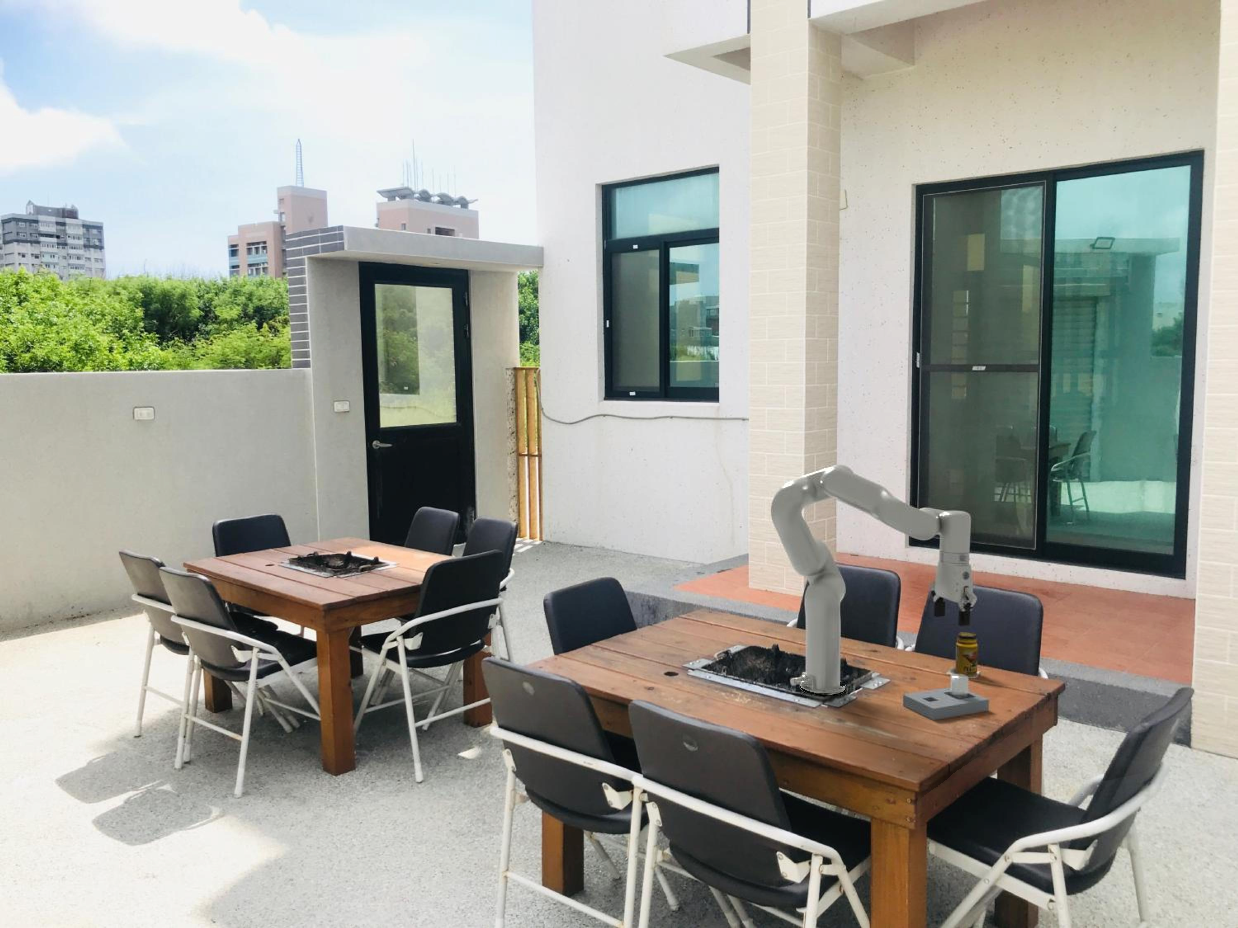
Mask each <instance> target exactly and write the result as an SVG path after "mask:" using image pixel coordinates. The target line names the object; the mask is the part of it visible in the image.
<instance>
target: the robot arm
mask: <svg viewBox="0 0 1238 928" xmlns="http://www.w3.org/2000/svg"><path fill="white" fill-rule="evenodd" d="M831 498H832V499H833V500H836V501H838V502H840V503H844V504H845V505H848V506H849V507H852V508H853V509H856V510H858V511H861V512H863V513H865V514H867V515H869V516H870V517H872V518H874V519H876V520H877V521H880V522H881V523H883V524H885V525H886V526H889V527H890V528H892V529H894V530H896V531H898V532H900V533H902V534H904V535H906V536H909V537H911V538H913V539H916V540H920V541H928V540H931V539H933V538H934V537H935V536H936V535H939V553H938V554H939V556H938V557H939V558H938V562H937V567H936V573H935V580H934V581H933V582H930V583H929V586H930V587H929V589H930V591H931V592H930V594H931V596H932V601H933V603H934V604H933V606H934V607H933V616H934V617H935V618H938V617H945V616H946V601H945V600H948V601H951V602H954V603H957V605H958V606H959V609H960V610H958V622H957V623H958V624H957V625H958V626H959V627H966V626H970V624H971V622H970V621H971V611H973V608H974V607H975V606H976V602H977V601H978V597H977V595H976V594H975V593H974V592H973V591H974V584H973V583H974V582H973V578H974V577H973V572H972V565H971V564H970V560H971V559H970V548H971V530H972V529H971V526H972V524H971V523H972V517H971V514H970V513H968V512H966V511H964V510H963V511H962V510H942V509H938V508H937V509H936V508H934V507H933V508H932V507H922V508H916V507H914V506H912V505H909V504H908V503H906V502H904V501H902V500H900V499H899V498H897V497H895V496H894V494H892V493H891V492H890V491H889V490H888V489H887V488H886V487H884V486H883V485H881V484H878V483H876V482H874V481H871V480H870V479H867V478H864V477H862V476H860V475H859V474H856V473H854V471H853V470H852V469H851V468H850V467H849V466H846V465H845V464H835V465H832V466H830V467H827V468H826V467H825V468H823V469H820V470H818V471H814V472H811V473H808V474H805V475H802V476H799V477H795V478H793V479H792V480H789V481H787V482H785V483H784V484H783V485H782V486H781V487H780V488H779V490H777V492H776V494H775V495H774V496H773V499H772V502H771V504H770V505H771V506H770V515H771V516H770V517H771V520H772V523H773V526H774V528H775V530H776V532H777V534H778V536H779V538H780V541H781V544H782V545H783V548H784V551H785V552H786V554H787V557H788V558H789V561H790V564H791V566H792V567H793V570H794V571H795V572H796V573H797V574H798V575H800V576H802V577H805V578H806V579H807V581H808V584H809V585H808V586H807V588H806V590H805V594H804V612H805V671H803V672H801V675H800V676H799V677H791V678H790V681H789V682H790V685H791V686H795V685H799V687H800V686H801V688H803V689H805V690H807V691H810V692H814V693H836V692H837V693H840V692H843V691H844V690H845V686H846V685H845V686H843V687H842V686H840V682H841V640H842V639H841V628H842V627H841V626H842V625H841V602H842V601H843V599H844V597H845V595H846V591H847V590H846V589H847V588H846V583H845V580H844V578H843V576H842V574H841V571H840V569H839V567H838V565H837V563H836V560H835V559H834V557H833V554H832V553H831V550H830V549H829V548H828V546H827V544H826V543H825V542H824V541H822V540H820V539H819V538H815V537H814V536H813V534H812V532H811V530H810V528H809V526H808V524H807V522H806V520H805V519H804V517H803V514H802V511H803V510H804V509H805V508H807V507H808V506H810V505H812V504H815V503H818V502H819V503H820V502H822V501H825V500H829V499H831ZM801 688H800V689H801ZM839 688H841V689H839ZM845 691H846V690H845ZM843 693H844V692H843Z"/></svg>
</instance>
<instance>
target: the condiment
mask: <svg viewBox="0 0 1238 928" xmlns="http://www.w3.org/2000/svg"><path fill="white" fill-rule="evenodd" d="M956 640H957V641H956V643H955V667H954V666H950V668H949V670H948V671H947V672H946V673H945V674H946V675H950V676H951V675H952V674H963V675H966V676H968V679H969V678H970V679H977V678H978V677H979V674H980V673H981V671H980V670H978V655H979V654H978V652H979V651H978V649H979V645H978V643H977V640H978V639H977V634H975V633H973V632H968V631H965V632H964V631H962V632H959V633H958V634H957V639H956Z"/></svg>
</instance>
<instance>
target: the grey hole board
mask: <svg viewBox="0 0 1238 928" xmlns="http://www.w3.org/2000/svg"><path fill="white" fill-rule="evenodd" d="M950 694H951V686H950V687H949V686H948V687H943V688H936V689H930V690H923V691H917V692H912V693H911V692H910V693H906V694H905V693H904V694H903V695H902V699H903V700H902V706H903V707H906V708H907V709H909V710H911V711H913V712H916V713H918V714H920V715H921V716H923V717H926V718H927V719H931V720H932V721H935V720H941V719H947V718H955V717H959V716H965V715H970V714H978V713H982V712H987V711H988V712H989V711H990V707H989V706H990V699H989V698H986V697H984V696H982V695H979V694H977V693H975V692H972V691H970V690H968V698H965V699H959V700H958V699H955V698H953V697H951V696H950Z"/></svg>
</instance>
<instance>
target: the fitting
mask: <svg viewBox="0 0 1238 928" xmlns="http://www.w3.org/2000/svg"><path fill="white" fill-rule="evenodd" d="M950 687H951V694H950V696H951V697H953V698H955V699H958V700H959V699H965V698H968V691H969V678H968V676H966V675H963V674H955V673H954V674H952V675H950Z"/></svg>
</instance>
